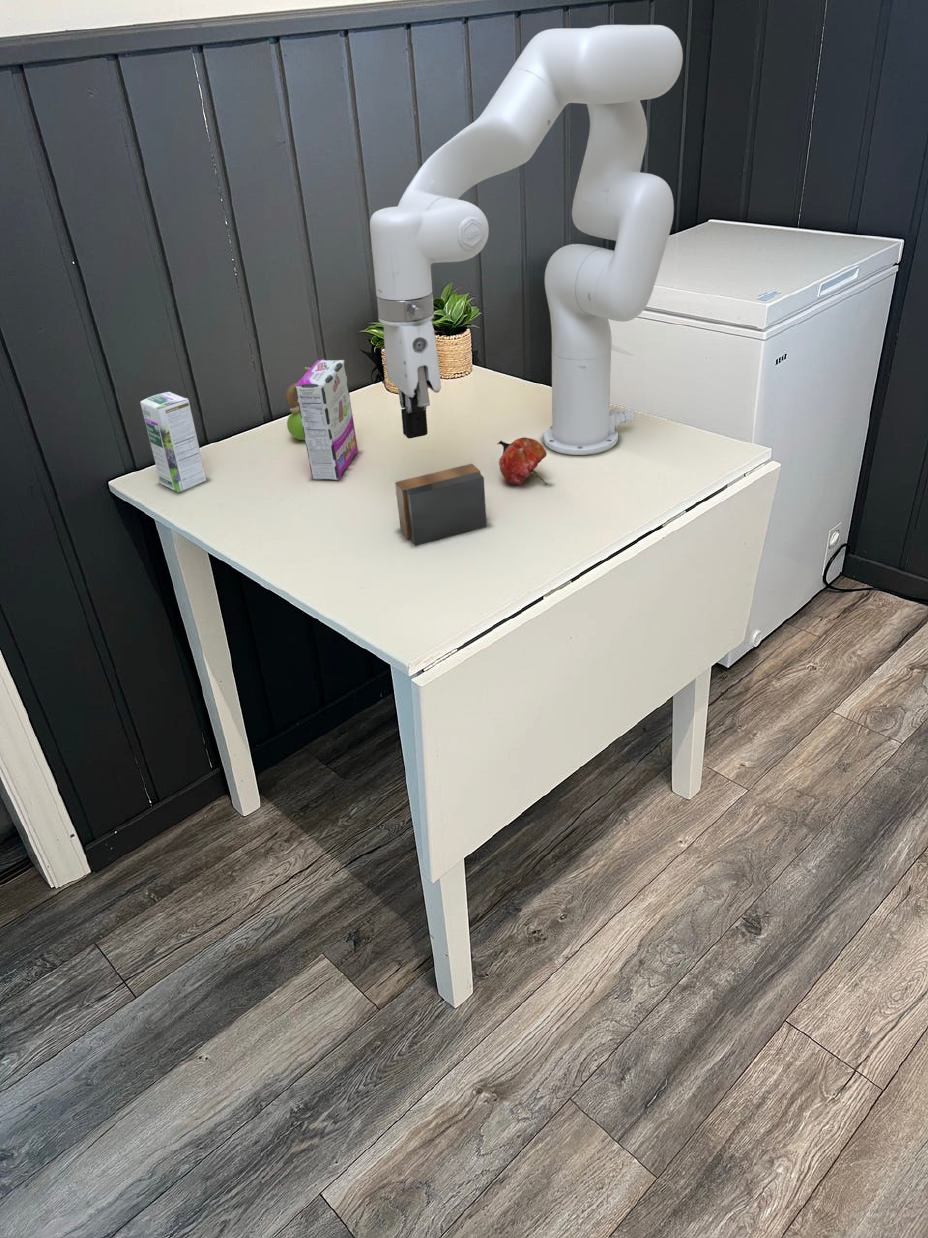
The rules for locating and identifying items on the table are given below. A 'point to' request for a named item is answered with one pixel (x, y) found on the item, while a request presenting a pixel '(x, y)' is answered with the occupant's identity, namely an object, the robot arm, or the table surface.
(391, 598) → the table surface
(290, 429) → the snail figurine
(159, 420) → the syrup box
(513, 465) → the pomegranate
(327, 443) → the candy bar box
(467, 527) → the brush
